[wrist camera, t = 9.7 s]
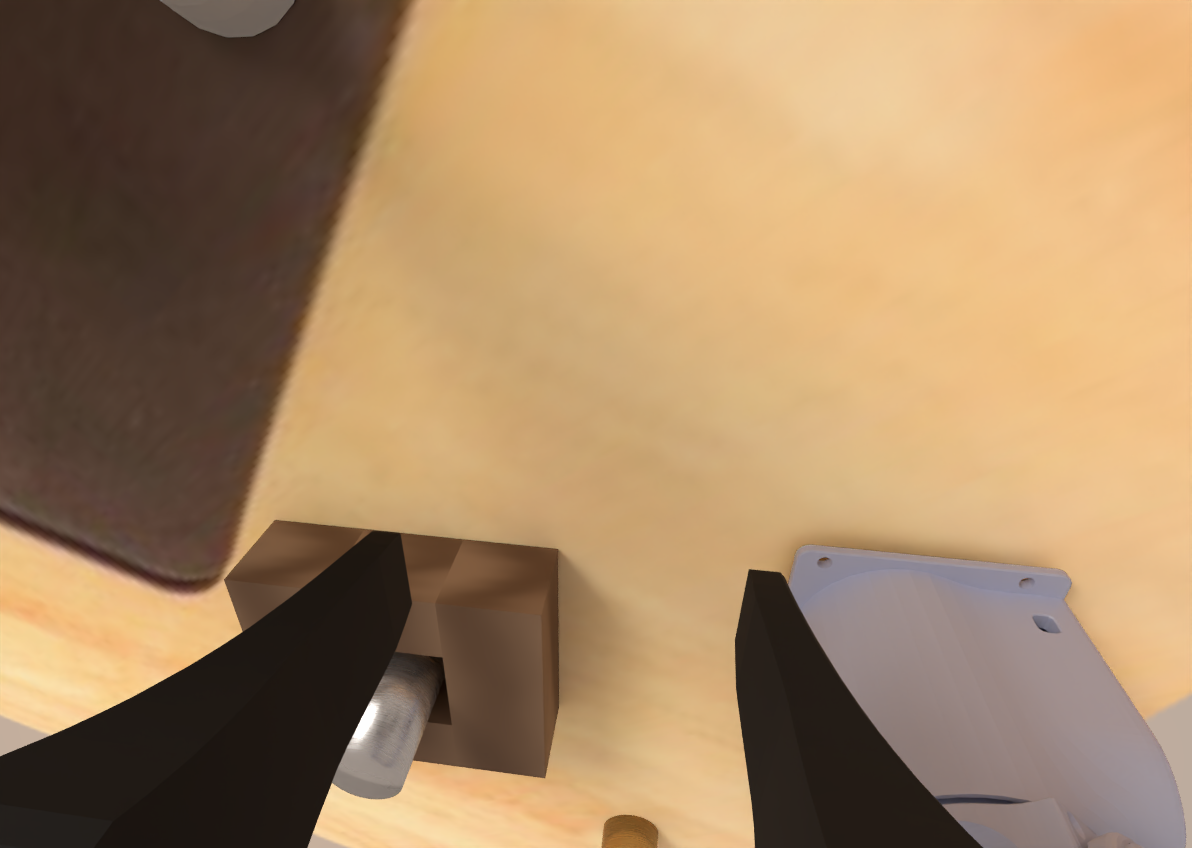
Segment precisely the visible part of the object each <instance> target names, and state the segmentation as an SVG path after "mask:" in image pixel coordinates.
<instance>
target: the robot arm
mask: <svg viewBox="0 0 1192 848" xmlns="http://www.w3.org/2000/svg"><path fill="white" fill-rule="evenodd" d="M824 557H827V558H829V559H827V560H825V561H820V560H819V559H821V558H824ZM1024 578H1028V579H1026V580H1024V581H1021V580H1022V579H1024ZM1071 584H1072V582H1071V579H1070V578H1069V576H1068V575H1067V573H1065V572H1064V571H1063V570H1059V569H1053V568H1043V567H1032V566H1022V565H1012V564H1002V563H992V562H982V561H972V560H962V559H952V558H941V557H931V556H921V555H911V554H901V553H891V552H881V551H871V550H861V549H850V548H840V547H830V546H820V545H805V546H802V547H800V548H799V549H798V550H797V551H796V553H795V557H794V561H793V565H792V569H791V573H790V578H789V582H788V584H787V582H786V579H785V577H784V576H783V575H782V574H781V573H780V572H770V571H761V570H751V569H749V572H748V577H747V582H746V587H745V592H744V597H743V602H742V607H741V613H740V618H739V623H738V628H737V633H736V638H735V664H736V691H737V699H738V707H739V714H740V722H741V729H742V736H743V743H744V751H745V758H746V765H747V772H748V780H749V787H750V794H751V801H752V811H753V821H754V836H755V848H1185V846H1186V845H1185V844H1186V828H1185V819H1184V813H1183V807H1182V803H1181V799H1180V795H1179V791H1178V788H1177V784H1176V781H1175V778H1174V775H1173V773H1172V770H1171V767H1170V765H1169V762H1168V760H1167V758H1166V756H1165V754H1164V752H1163V750H1162V748H1161V746H1160V744H1159V743H1158V741H1157V739H1156V738H1155V736H1154V734H1153V733H1152V731H1151V730H1150V728H1149V727H1148V725H1147V724H1146V722H1145V721H1144V719H1143V718H1142V716H1141V715H1140V713H1139V712H1138V710H1137V709H1136V707H1135V706H1134V704H1133V703H1132V701H1131V700H1130V698H1129V697H1128V695H1127V693H1126V692H1125V690H1124V689H1123V687H1122V686H1121V684H1120V683H1119V681H1118V680H1117V678H1116V677H1115V675H1114V674H1113V672H1112V671H1111V669H1110V668H1109V666H1108V665H1107V663H1106V662H1105V660H1104V659H1103V657H1102V656H1101V654H1100V653H1099V651H1098V650H1097V648H1096V647H1095V645H1094V644H1093V642H1092V641H1091V639H1090V638H1089V636H1088V635H1087V633H1086V632H1085V630H1084V629H1083V627H1082V626H1081V624H1080V623H1079V621H1078V620H1077V618H1076V617H1075V615H1074V614H1073V612H1072V611H1071V609H1070V608H1069V606H1068V605H1067V603H1066V602H1065V600H1064V598H1065V597H1066V595H1067V593H1068V591H1069V589H1070V588H1071ZM411 606H412V599H411V593H410V587H409V581H408V575H407V569H406V563H405V557H404V551H403V545H402V539H401V533H392V532H383V531H372V532H370V533H369V534H368V535H367V536H365V537H364V538H363V539H362V540H360V541H359V542H358V543H357V544H355V545H354V546H353V547H352V548H351V549H349V550H348V551H347V552H346V553H344V554H343V555H342V556H341V557H340V558H338V559H337V560H336V561H335V562H334V563H332V564H331V565H330V566H329V567H327V568H326V569H325V570H324V571H323V572H321V573H320V574H319V575H318V576H316V577H315V578H314V579H313V580H311V581H310V582H309V583H308V584H306V585H305V586H304V587H303V588H301V589H300V590H299V591H298V592H296V593H295V594H294V595H293V596H291V597H290V598H289V599H287V600H286V601H285V602H283V603H282V604H281V605H279V606H278V607H276V608H275V609H274V610H272V611H271V612H270V613H268V614H267V615H266V616H264V617H263V618H261V619H260V620H259V621H257V622H256V623H255V624H253V625H252V626H251V627H249V628H248V629H246V630H245V631H243V632H242V633H240V634H239V635H237V636H236V637H234V638H233V639H231V640H230V641H228V642H227V643H225V644H224V645H222V646H221V647H219V648H217V649H216V650H214V651H213V652H211V653H209V654H208V655H206V656H205V657H203V658H201V659H200V660H198V661H197V662H195V663H193V664H191V665H190V666H188V667H186V668H185V669H183V670H181V671H179V672H177V673H176V674H174V675H172V676H170V677H168V678H166V679H165V680H163V681H161V682H159V683H157V684H156V685H154V686H152V687H150V688H148V689H146V690H145V691H143V692H141V693H139V694H137V695H136V696H134V697H132V698H130V699H128V700H126V701H124V702H122V703H120V704H118V705H116V706H114V707H112V708H110V709H108V710H105V711H103V712H101V713H99V714H97V715H95V716H93V717H91V718H89V719H86V720H84V721H82V722H80V723H78V724H76V725H74V726H71V727H69V728H67V729H65V730H62V731H60V732H58V733H55V734H53V735H51V736H48V737H46V738H44V739H41V740H39V741H36V742H34V743H31V744H29V745H27V746H24V747H22V748H19V749H17V750H14V751H12V752H10V753H7V754H5V755H2V756H0V848H307V847H308V844H309V841H310V839H311V836H312V834H313V831H314V828H315V825H316V823H317V820H318V817H319V815H320V812H321V809H322V807H323V804H324V802H325V799H326V797H327V794H328V791H329V789H330V786H331V784H332V781H333V779H334V776H335V773H336V771H337V769H338V766H339V764H340V762H341V760H342V758H343V755H344V753H345V751H346V749H347V747H348V745H349V743H350V741H351V739H352V737H353V735H354V733H355V731H356V729H357V727H358V725H359V723H360V721H361V719H362V717H363V715H364V713H365V711H366V709H367V707H368V705H369V703H370V701H371V699H372V697H373V695H374V693H375V691H376V689H377V687H378V685H379V683H380V681H381V679H382V677H383V675H384V673H385V671H386V669H387V667H388V665H389V663H390V661H391V659H392V657H393V655H394V653H395V651H396V649H397V646H398V643H399V640H400V638H401V635H402V632H403V630H404V627H405V624H406V621H407V618H408V615H409V612H410V609H411Z"/></svg>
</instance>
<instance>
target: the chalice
mask: <svg viewBox="0 0 1192 848" xmlns="http://www.w3.org/2000/svg"><path fill="white" fill-rule="evenodd" d="M160 1H161V2H163V3H164V4H165V5H167V6H168V7H170V8H171V9H172V10H173V11H175V12H176V13H178V14H179V15H181V16H182V17H183V18H185V19H186V20H188V21H189V22H191V23H192V24H194V25H195V26H196V27H198V28H200V29H203V30H206V31H209V32H212V33H215V34H218V35H221V36H224V37H227V38H228V37H250V36H255V35H257V34H259V33H261V32H263V31H265V30H267V29H269V28H271V27H273V26H275V25H277V23H278V22H279V21H280V20H281V18H282V17H283V16H284V15H285V13H286V12H287V11H288V10H289V8H290V7H291V6H292V5H293V3H294V1H295V0H160Z"/></svg>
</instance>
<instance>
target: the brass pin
mask: <svg viewBox="0 0 1192 848" xmlns="http://www.w3.org/2000/svg"><path fill="white" fill-rule="evenodd" d="M657 843H658V831H657V828H656V827H655V826H654V825H653V824H652V823H651V822H649V821H648V820H646V819H643V818H641V817H637V816H632V815H619V816H615V817H612V818H610V819H608V820H607V821H606V822H605V824H604V829H603V839H602V848H657Z"/></svg>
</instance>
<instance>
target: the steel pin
mask: <svg viewBox="0 0 1192 848" xmlns="http://www.w3.org/2000/svg"><path fill="white" fill-rule="evenodd" d="M444 677H445V671H444V664H443V658H442V657H434V656H426V655H417V654H409V653H401V652H395V653H394V655H393V657H392V659H391V661H390V663H389V665H388V667H387V669H386V671H385V673H384V675H383V677H382V679H381V681H380V683H379V685H378V687H377V689H376V691H375V693H374V695H373V697H372V699H371V701H370V703H369V705H368V707H367V709H366V711H365V713H364V715H363V717H362V719H361V721H360V723H359V725H358V727H357V729H356V731H355V733H354V735H353V737H352V739H351V741H350V743H349V745H348V747H347V749H346V751H345V753H344V755H343V758H342V760H341V762H340V764H339V766H338V769H337V771H336V773H335V776H334V779H333V781H332V783H333V784H334V785H336V786H337V787H339V788H340V789H342V790H344V791H346V792H348V793H350V794H353V795H355V796H359V797H363V798H368V799H386V798H390V797H393V796H395V795H397V794H398V793H399V792H400V791H401V789H402V787H403V785H404V782H405V779H406V777H407V774H408V772H409V769H410V766H411V764H412V761H413V758H414V756H415V753H416V751H417V748H418V745H419V743H420V740H421V737H422V735H423V732H424V729H425V727H426V724H427V722H428V719H429V716H430V714H431V711H432V708H433V706H434V703H435V701H436V698H437V695H438V693H439V690H440V687H441V685H442V682H443V680H444Z"/></svg>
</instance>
